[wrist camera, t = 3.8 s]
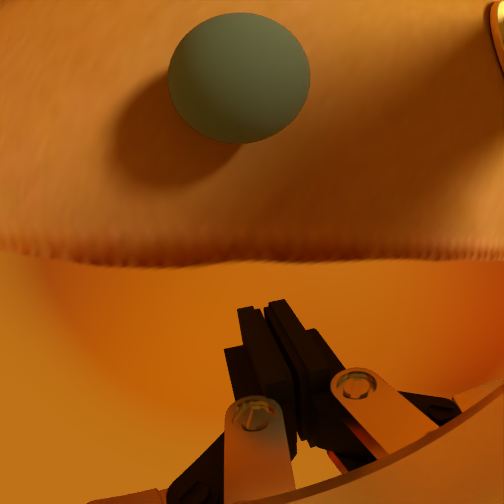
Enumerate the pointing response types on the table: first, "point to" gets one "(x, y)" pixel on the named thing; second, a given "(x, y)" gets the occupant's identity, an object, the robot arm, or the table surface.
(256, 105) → the ball
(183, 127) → the table surface
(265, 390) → the robot arm
